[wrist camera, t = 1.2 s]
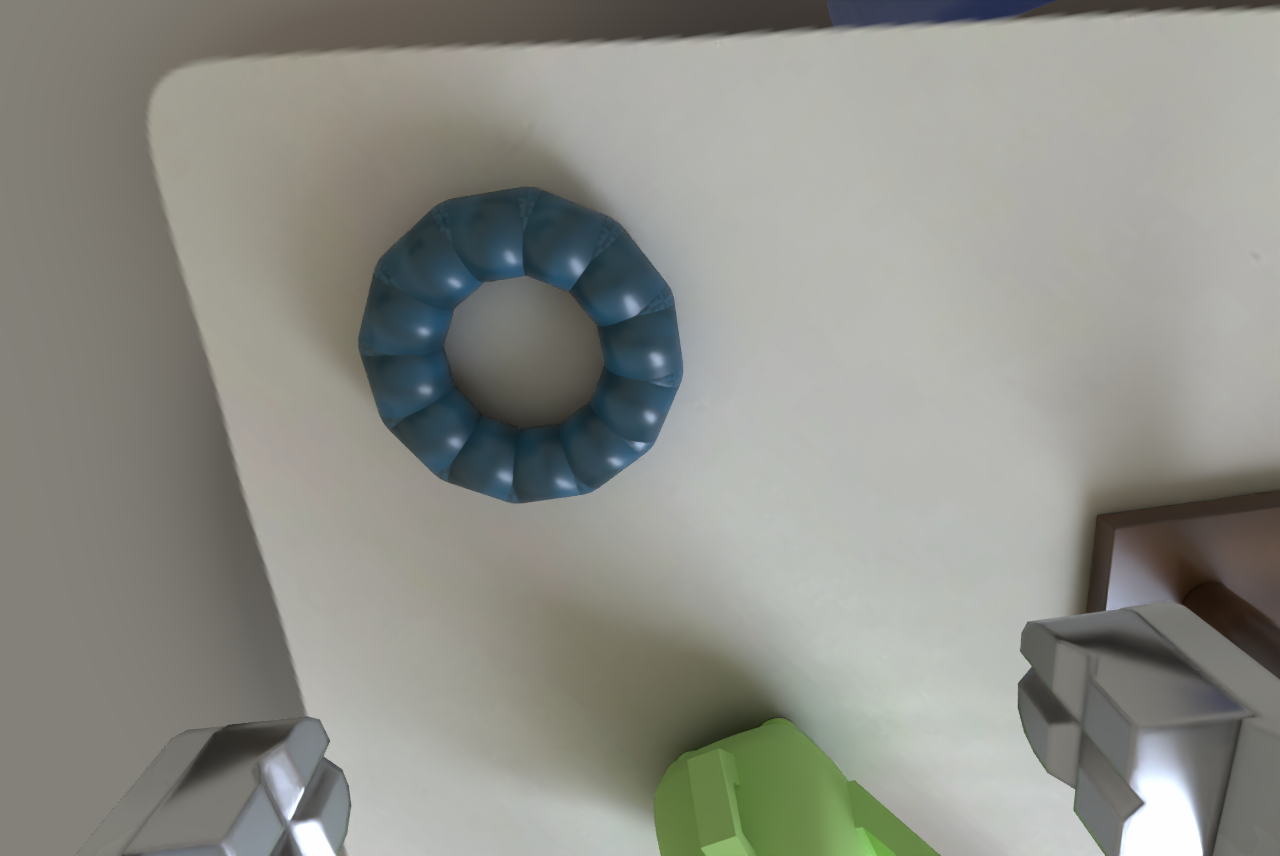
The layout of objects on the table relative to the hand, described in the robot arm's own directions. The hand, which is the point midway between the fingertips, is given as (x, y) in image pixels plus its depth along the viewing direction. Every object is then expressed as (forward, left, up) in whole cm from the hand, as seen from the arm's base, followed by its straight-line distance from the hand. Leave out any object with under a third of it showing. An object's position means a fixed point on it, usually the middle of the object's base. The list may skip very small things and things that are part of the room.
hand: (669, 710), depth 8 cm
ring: (0, -5, -19) cm, 19 cm away
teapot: (+25, +2, -20) cm, 32 cm away
